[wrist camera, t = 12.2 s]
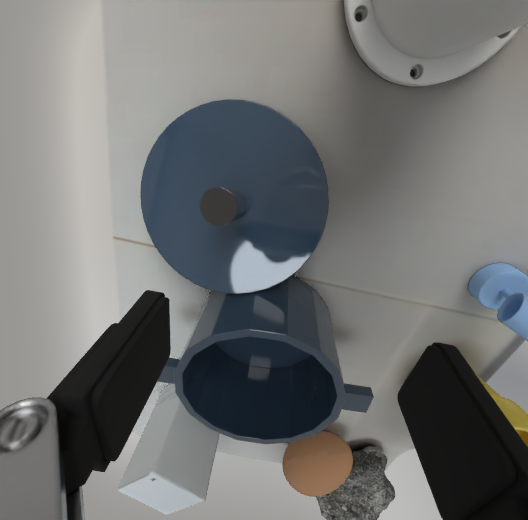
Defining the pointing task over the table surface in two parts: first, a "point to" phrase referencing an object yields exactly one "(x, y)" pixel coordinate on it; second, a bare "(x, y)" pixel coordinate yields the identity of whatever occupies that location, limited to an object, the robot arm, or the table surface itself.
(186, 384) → the pot
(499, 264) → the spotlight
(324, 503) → the rock
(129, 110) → the table surface
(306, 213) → the pot lid
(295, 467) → the egg
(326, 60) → the table surface
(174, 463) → the white packaging box
